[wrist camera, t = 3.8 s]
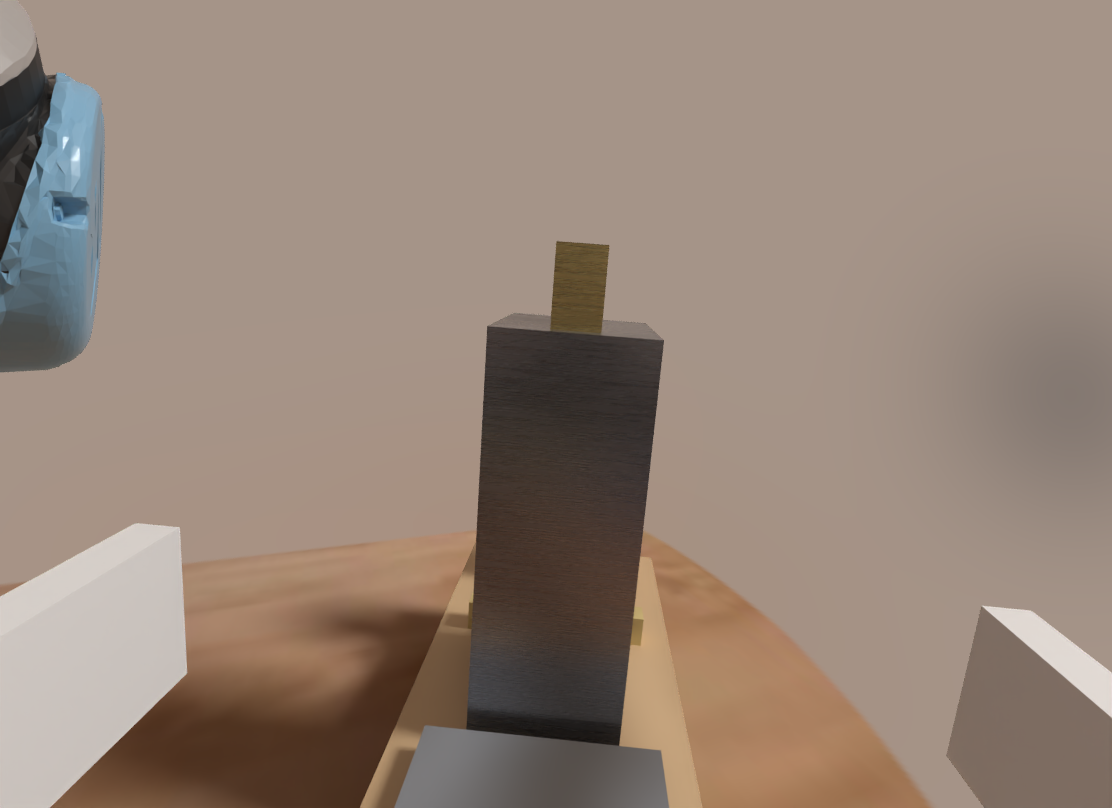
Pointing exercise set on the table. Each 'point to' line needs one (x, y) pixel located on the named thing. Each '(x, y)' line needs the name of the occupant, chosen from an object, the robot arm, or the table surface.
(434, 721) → the body
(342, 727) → the table surface
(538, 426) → the grey metal pillar
